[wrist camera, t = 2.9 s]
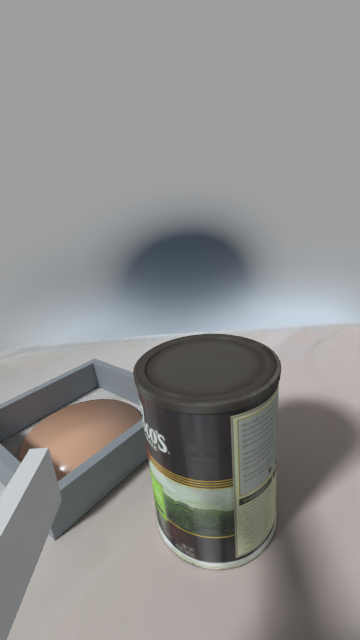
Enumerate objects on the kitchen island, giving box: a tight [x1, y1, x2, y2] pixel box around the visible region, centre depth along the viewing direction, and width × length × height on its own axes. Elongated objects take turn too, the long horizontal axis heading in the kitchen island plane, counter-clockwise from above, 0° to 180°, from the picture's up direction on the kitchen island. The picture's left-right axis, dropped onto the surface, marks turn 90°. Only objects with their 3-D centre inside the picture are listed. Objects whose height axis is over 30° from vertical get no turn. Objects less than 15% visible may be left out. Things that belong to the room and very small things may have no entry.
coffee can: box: [133, 334, 281, 570], centre depth 25 cm, size 10×10×14 cm
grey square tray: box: [0, 359, 148, 540], centre depth 37 cm, size 18×18×4 cm
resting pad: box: [19, 399, 142, 482], centre depth 38 cm, size 14×14×1 cm
